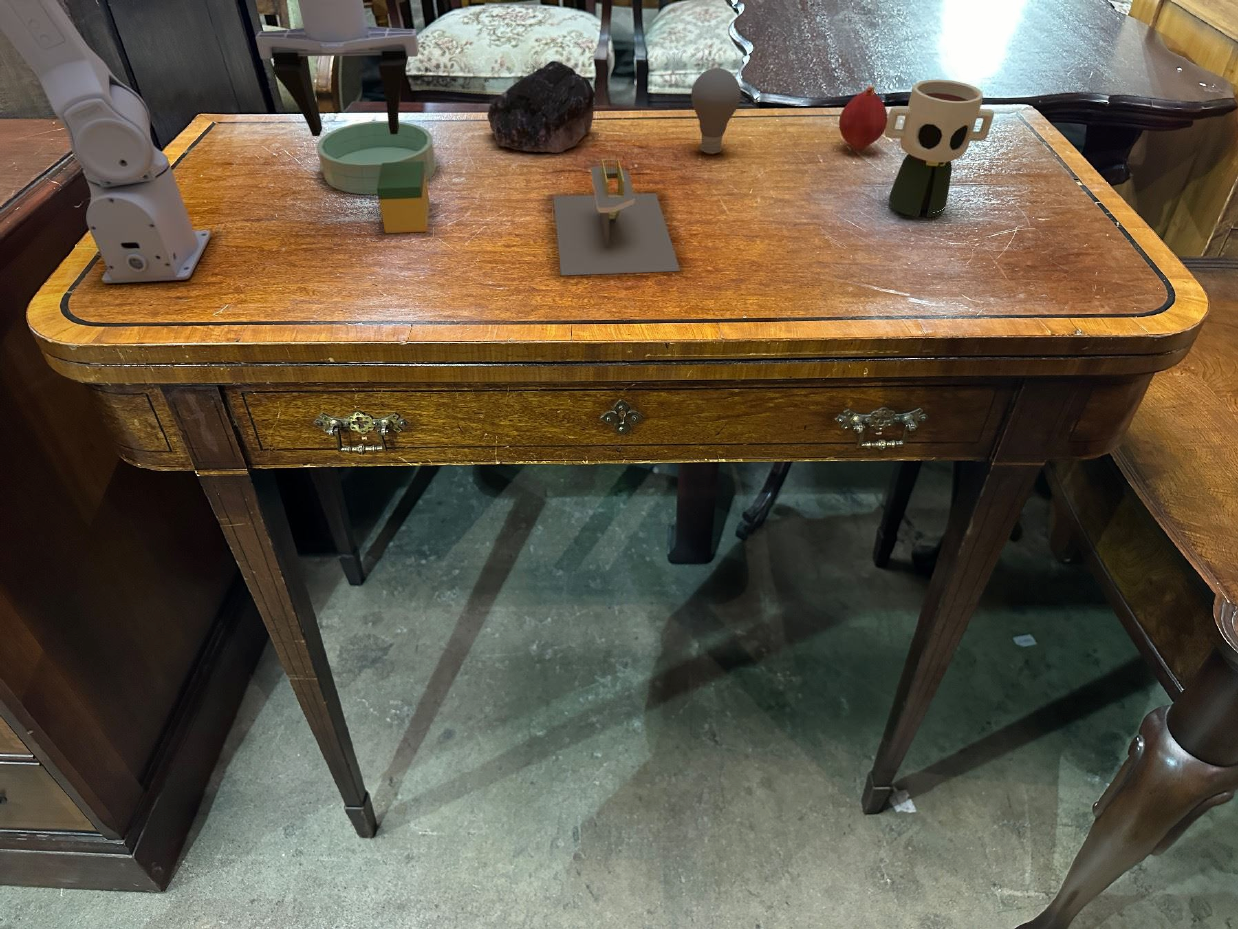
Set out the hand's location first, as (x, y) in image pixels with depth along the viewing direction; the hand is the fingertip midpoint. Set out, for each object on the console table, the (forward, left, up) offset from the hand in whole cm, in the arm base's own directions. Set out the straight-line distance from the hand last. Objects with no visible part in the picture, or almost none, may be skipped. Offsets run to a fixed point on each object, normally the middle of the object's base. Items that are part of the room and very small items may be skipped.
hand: (356, 131), depth 83 cm
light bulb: (+14, -41, -10) cm, 44 cm away
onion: (+13, -60, -10) cm, 62 cm away
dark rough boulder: (+21, -20, -10) cm, 31 cm away
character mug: (-4, -61, -10) cm, 61 cm away
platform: (-6, -26, -10) cm, 28 cm away
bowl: (+12, 0, -9) cm, 16 cm away
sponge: (-1, -4, -9) cm, 10 cm away
